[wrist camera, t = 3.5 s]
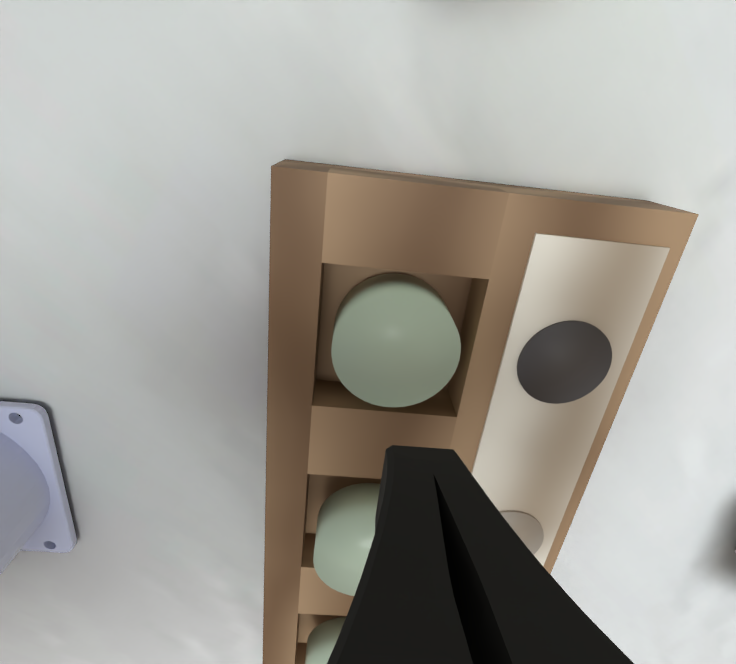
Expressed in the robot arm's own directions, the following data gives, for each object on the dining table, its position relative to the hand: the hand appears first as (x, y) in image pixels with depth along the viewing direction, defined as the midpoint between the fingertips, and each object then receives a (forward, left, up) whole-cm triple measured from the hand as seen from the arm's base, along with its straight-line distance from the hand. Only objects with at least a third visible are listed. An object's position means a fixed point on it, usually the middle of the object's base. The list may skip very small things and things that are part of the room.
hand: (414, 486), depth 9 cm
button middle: (0, -8, -6) cm, 10 cm away
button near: (0, 0, -7) cm, 7 cm away
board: (+2, -8, -8) cm, 12 cm away
